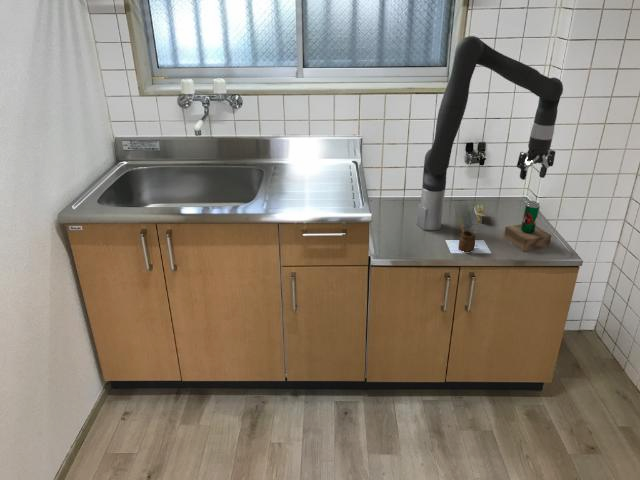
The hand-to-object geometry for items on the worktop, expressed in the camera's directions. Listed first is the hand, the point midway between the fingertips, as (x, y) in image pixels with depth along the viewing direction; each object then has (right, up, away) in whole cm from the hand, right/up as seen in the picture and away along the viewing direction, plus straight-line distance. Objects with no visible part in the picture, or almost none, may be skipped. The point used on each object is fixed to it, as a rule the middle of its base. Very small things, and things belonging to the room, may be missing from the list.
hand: (532, 178), depth 190 cm
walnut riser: (+2, -24, +10) cm, 26 cm away
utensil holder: (-24, -27, +4) cm, 36 cm away
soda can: (+1, -20, +7) cm, 21 cm away
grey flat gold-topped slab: (-11, -15, +29) cm, 34 cm away
